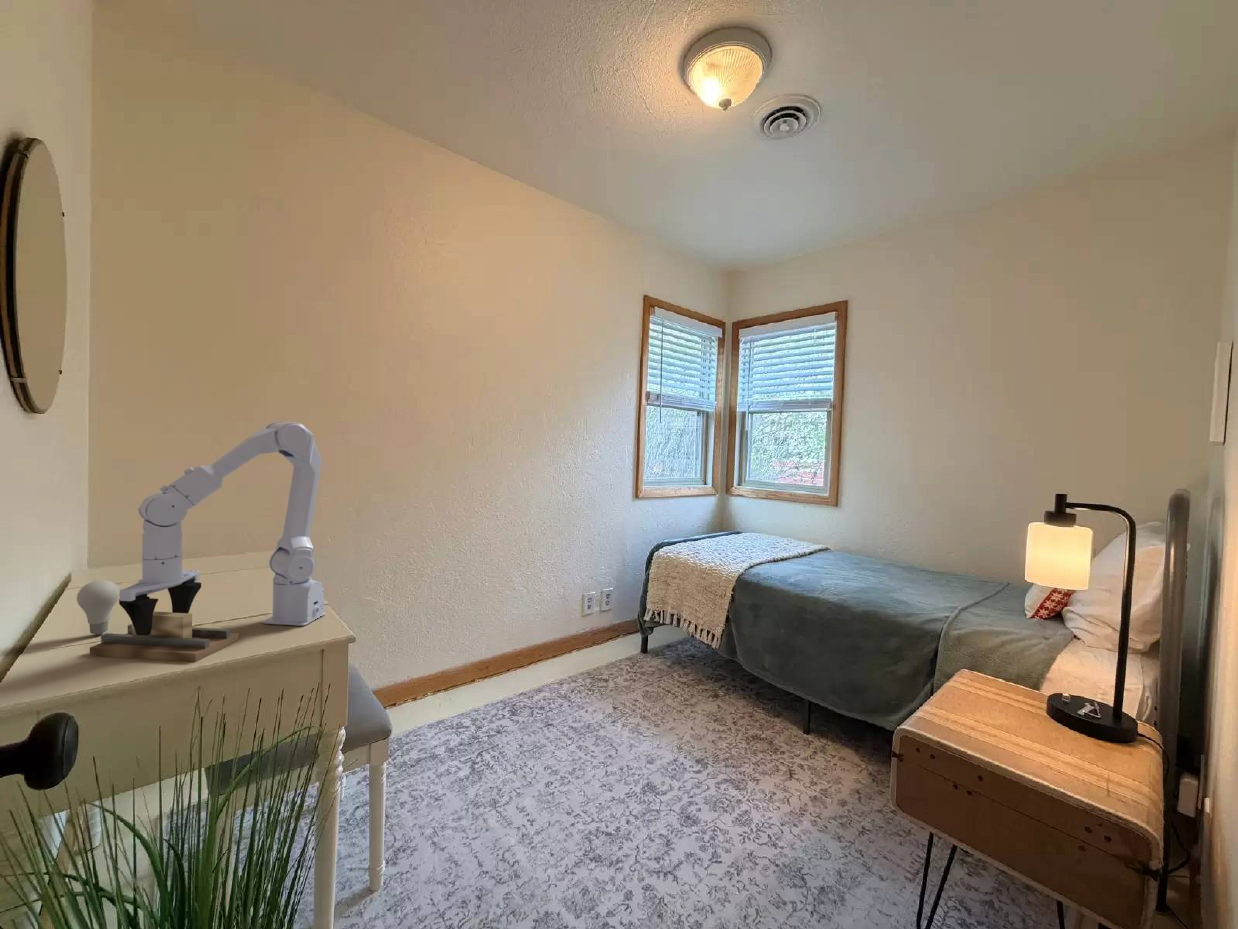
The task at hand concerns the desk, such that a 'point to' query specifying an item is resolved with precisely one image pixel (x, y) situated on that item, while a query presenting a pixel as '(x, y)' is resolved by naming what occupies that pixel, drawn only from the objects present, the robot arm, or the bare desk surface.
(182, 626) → the wooden block
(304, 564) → the robot arm
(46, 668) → the desk surface
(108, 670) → the desk surface
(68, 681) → the desk surface
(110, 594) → the lightbulb
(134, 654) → the track board
